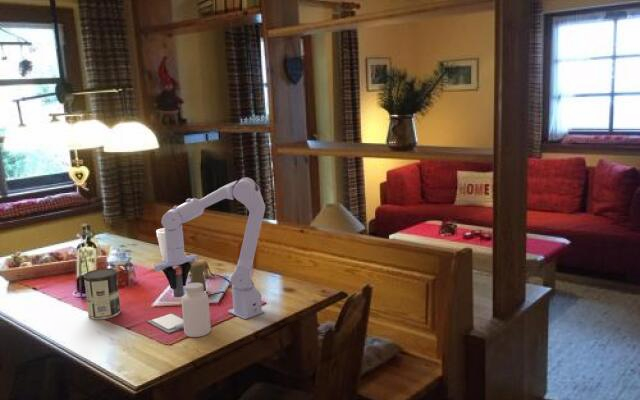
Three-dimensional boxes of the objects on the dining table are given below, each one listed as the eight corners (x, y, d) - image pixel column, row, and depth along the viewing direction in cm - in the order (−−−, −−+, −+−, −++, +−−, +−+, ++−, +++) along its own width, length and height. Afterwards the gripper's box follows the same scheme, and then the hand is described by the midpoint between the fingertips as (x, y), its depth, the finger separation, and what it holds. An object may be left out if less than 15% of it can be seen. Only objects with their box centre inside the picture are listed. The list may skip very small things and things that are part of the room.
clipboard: (194, 324, 179) (194, 320, 179) (168, 333, 173) (168, 329, 173) (172, 313, 189) (172, 310, 188) (147, 322, 182) (147, 318, 182)
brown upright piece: (209, 289, 210) (207, 261, 208) (204, 295, 204) (202, 266, 202) (193, 289, 211) (190, 260, 209) (187, 295, 205) (185, 266, 203)
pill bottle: (199, 324, 180) (196, 279, 177) (216, 331, 174) (213, 284, 172) (178, 333, 174) (174, 286, 171) (195, 340, 168) (192, 291, 166)
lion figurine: (178, 276, 226) (176, 254, 224) (185, 272, 231) (184, 250, 229) (212, 279, 222) (210, 256, 220) (218, 274, 227) (217, 253, 225)
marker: (186, 295, 188) (184, 267, 186) (177, 298, 185) (174, 270, 183) (180, 292, 190) (178, 265, 188) (171, 295, 188) (169, 267, 186)
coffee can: (113, 305, 197) (109, 266, 195) (125, 313, 190) (121, 273, 187) (83, 313, 191) (78, 273, 188) (94, 322, 183) (90, 280, 180)
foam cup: (169, 263, 243) (167, 233, 240) (154, 260, 248) (151, 231, 245) (185, 257, 251) (183, 228, 248) (170, 254, 256) (168, 226, 253)
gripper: (187, 239, 192) (190, 278, 195) (148, 249, 182) (151, 290, 185) (199, 243, 187) (202, 283, 190) (159, 253, 177) (163, 295, 180)
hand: (178, 286), depth 187 cm, fingers closed on marker, 3 cm apart
